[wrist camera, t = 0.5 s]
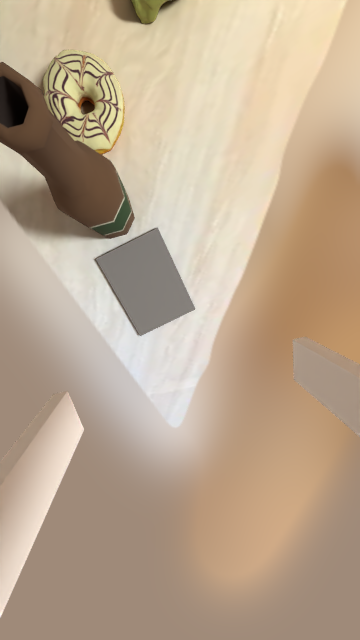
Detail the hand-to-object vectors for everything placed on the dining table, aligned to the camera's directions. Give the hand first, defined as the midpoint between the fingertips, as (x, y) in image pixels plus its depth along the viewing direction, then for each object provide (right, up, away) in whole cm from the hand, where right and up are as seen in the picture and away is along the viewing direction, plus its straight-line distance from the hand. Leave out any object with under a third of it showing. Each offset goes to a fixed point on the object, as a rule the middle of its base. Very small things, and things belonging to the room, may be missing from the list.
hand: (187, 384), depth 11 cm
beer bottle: (-12, +21, +22) cm, 33 cm away
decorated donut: (-14, +34, +19) cm, 42 cm away
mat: (-6, +10, +25) cm, 28 cm away
